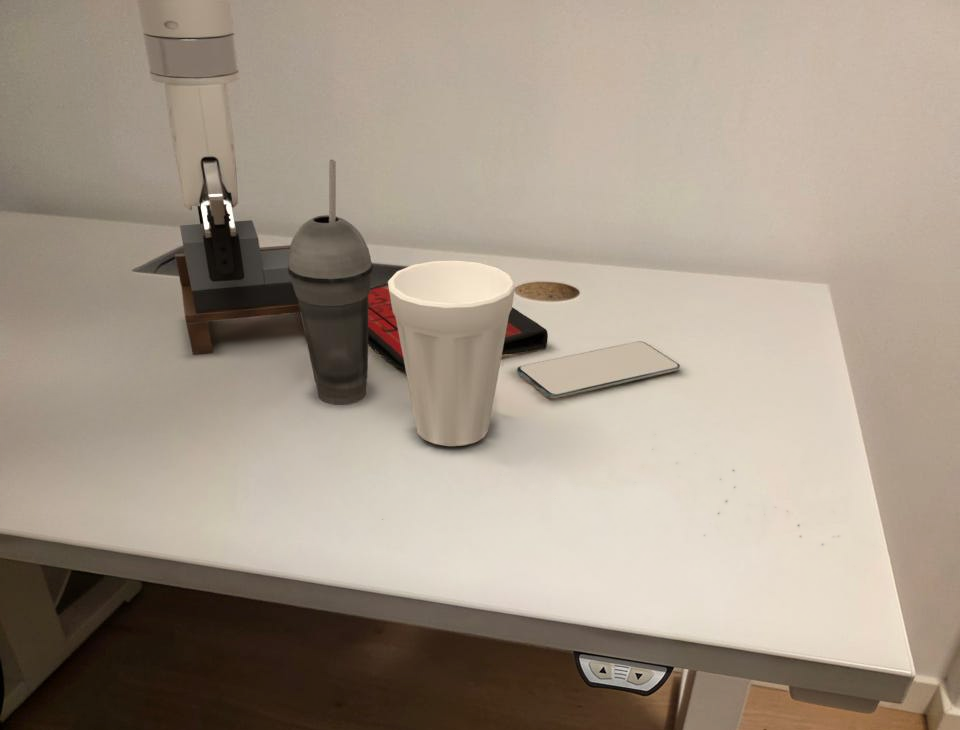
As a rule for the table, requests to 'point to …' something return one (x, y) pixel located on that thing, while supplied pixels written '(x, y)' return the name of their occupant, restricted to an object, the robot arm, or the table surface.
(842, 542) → the table surface
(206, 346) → the bench
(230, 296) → the stepped block on base
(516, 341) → the binder
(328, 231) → the beverage cup
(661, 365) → the smartphone
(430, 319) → the cup
